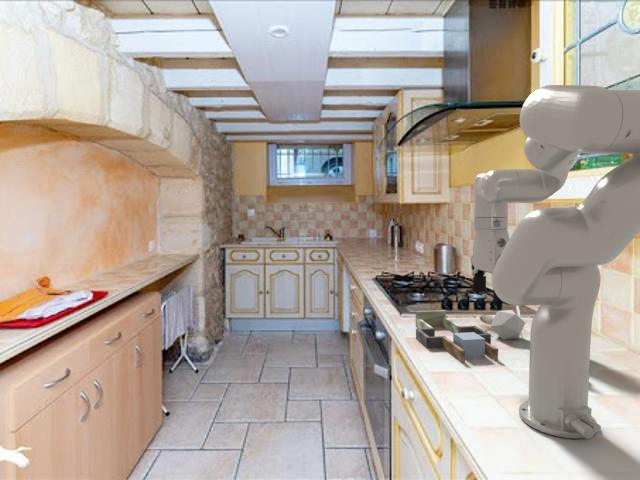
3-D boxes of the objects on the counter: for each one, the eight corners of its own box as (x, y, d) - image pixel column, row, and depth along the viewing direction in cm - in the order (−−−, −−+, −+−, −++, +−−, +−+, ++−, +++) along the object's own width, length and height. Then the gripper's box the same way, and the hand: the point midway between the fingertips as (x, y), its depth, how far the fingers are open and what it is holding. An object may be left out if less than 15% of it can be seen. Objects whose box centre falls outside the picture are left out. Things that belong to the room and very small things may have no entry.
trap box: (514, 359, 108) (514, 340, 108) (444, 363, 106) (444, 344, 106) (456, 324, 141) (457, 309, 141) (402, 326, 139) (402, 311, 138)
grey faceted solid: (511, 334, 132) (491, 308, 133) (535, 326, 125) (514, 299, 126) (500, 349, 126) (480, 322, 127) (525, 342, 119) (503, 314, 120)
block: (484, 357, 111) (485, 338, 110) (463, 358, 110) (463, 340, 109) (473, 349, 116) (473, 332, 116) (453, 350, 116) (453, 333, 115)
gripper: (527, 226, 93) (525, 302, 94) (486, 223, 110) (485, 288, 111) (495, 226, 92) (494, 303, 93) (459, 224, 109) (458, 289, 110)
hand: (489, 295), depth 102 cm, fingers open, 9 cm apart
